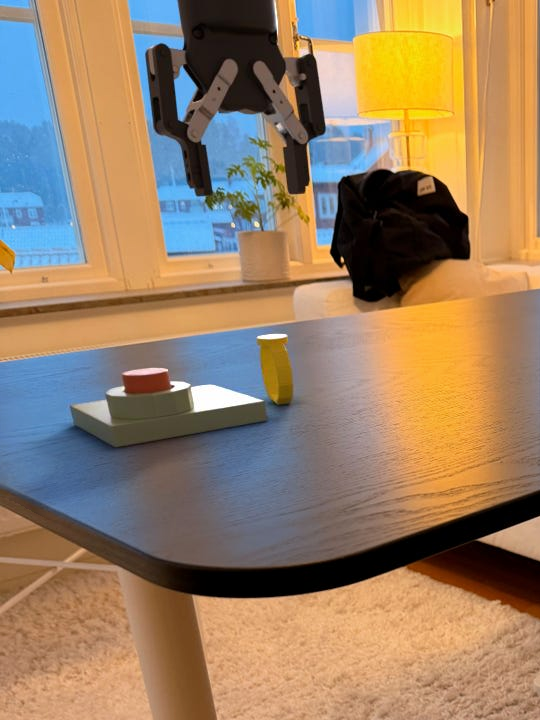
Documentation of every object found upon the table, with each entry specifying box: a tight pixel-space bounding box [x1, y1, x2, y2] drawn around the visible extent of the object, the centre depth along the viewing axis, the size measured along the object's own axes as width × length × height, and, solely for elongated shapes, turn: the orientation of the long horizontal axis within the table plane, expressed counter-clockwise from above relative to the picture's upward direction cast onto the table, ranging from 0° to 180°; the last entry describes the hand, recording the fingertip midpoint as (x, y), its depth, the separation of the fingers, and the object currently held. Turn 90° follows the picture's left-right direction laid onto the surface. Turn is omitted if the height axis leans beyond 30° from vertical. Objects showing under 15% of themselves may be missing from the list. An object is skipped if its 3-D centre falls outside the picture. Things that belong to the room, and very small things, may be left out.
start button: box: [121, 367, 172, 394], centre depth 72 cm, size 4×4×2 cm
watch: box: [256, 333, 294, 406], centre depth 82 cm, size 6×3×6 cm, turn 27°
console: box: [69, 380, 268, 448], centre depth 76 cm, size 13×12×4 cm
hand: (251, 195), depth 76 cm, fingers open, 8 cm apart
